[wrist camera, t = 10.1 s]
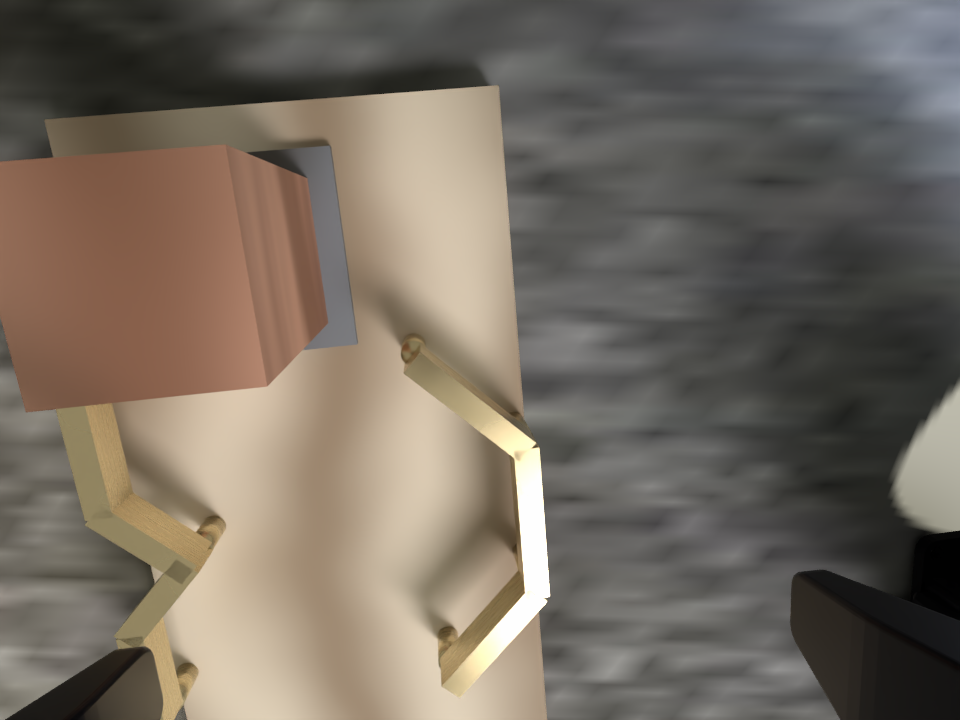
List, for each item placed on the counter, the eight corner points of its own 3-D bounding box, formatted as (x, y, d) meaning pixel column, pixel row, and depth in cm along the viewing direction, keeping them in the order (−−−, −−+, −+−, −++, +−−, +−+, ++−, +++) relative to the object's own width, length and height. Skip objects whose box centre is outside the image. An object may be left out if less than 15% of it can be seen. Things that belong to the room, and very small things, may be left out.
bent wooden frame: (516, 322, 18) (531, 337, 16) (540, 631, 20) (556, 686, 18) (102, 365, 17) (49, 388, 15) (177, 683, 20) (143, 747, 17)
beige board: (494, 93, 18) (499, 82, 16) (546, 765, 23) (554, 796, 22) (66, 125, 17) (36, 117, 15) (226, 816, 22) (214, 852, 21)
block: (307, 178, 16) (225, 144, 10) (328, 323, 17) (267, 387, 10) (155, 190, 16) (-41, 164, 9) (185, 337, 17) (26, 412, 10)
